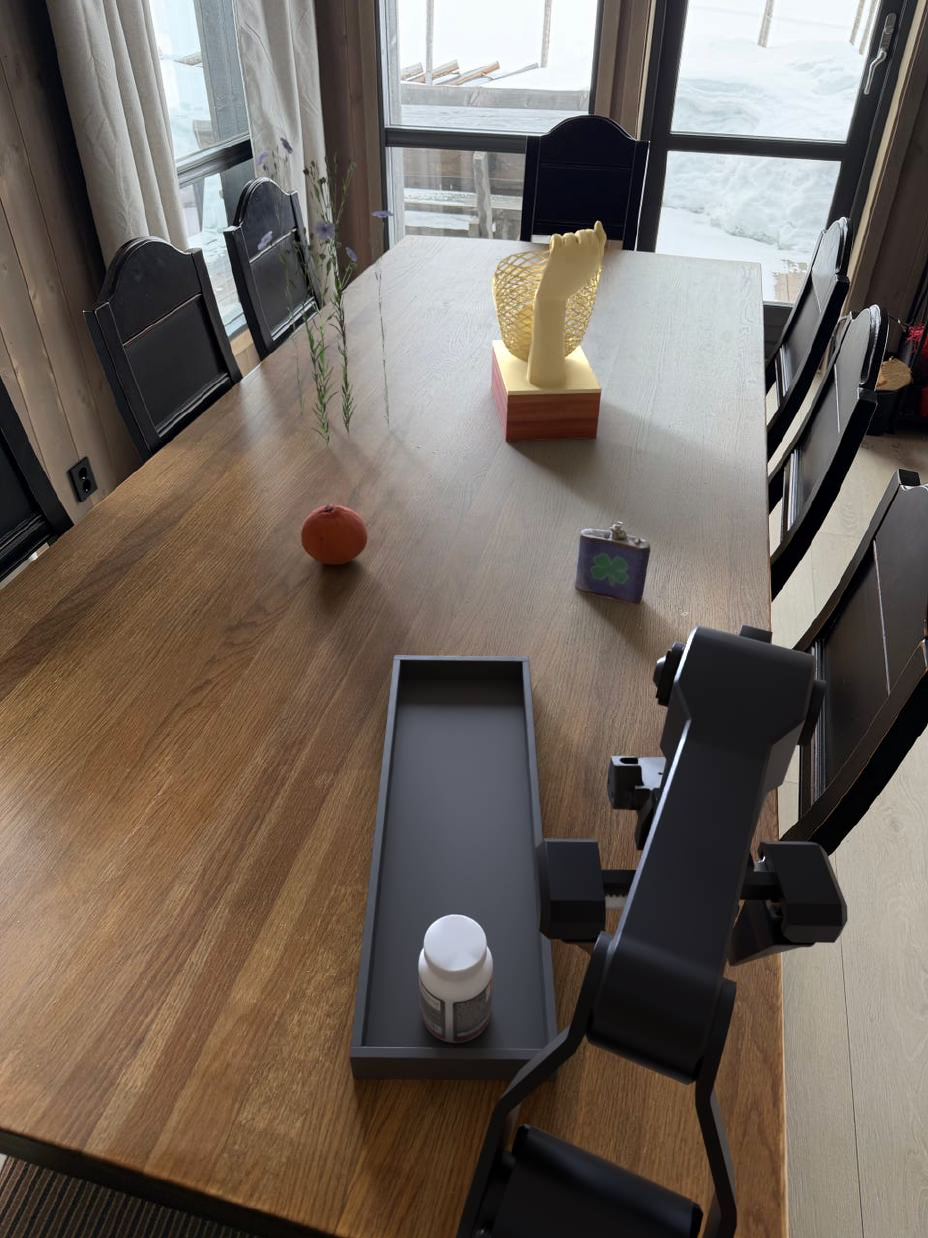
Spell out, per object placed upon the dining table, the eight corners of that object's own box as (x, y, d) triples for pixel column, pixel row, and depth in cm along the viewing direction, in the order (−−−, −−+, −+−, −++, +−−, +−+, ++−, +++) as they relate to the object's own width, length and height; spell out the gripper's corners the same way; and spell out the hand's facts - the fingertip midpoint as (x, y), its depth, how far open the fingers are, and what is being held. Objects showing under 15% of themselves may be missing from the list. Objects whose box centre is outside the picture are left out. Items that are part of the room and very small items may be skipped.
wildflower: (423, 439, 150) (417, 148, 122) (300, 470, 141) (263, 164, 113) (368, 392, 165) (352, 124, 137) (253, 418, 156) (210, 136, 128)
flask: (571, 591, 116) (579, 522, 109) (577, 579, 118) (585, 511, 111) (639, 607, 113) (651, 538, 106) (644, 595, 115) (656, 526, 108)
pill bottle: (493, 980, 72) (497, 912, 66) (488, 1049, 67) (492, 982, 61) (425, 974, 72) (422, 905, 66) (415, 1042, 68) (412, 975, 62)
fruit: (291, 565, 120) (284, 516, 115) (327, 535, 126) (322, 486, 121) (345, 583, 116) (340, 533, 112) (379, 550, 123) (376, 501, 118)
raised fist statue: (600, 442, 150) (625, 227, 128) (497, 445, 148) (505, 228, 127) (574, 384, 169) (592, 189, 147) (483, 386, 168) (487, 190, 146)
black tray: (556, 1081, 66) (560, 1060, 64) (352, 1079, 66) (349, 1057, 64) (527, 679, 102) (529, 656, 100) (395, 677, 102) (393, 655, 100)
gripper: (821, 718, 57) (767, 863, 66) (537, 714, 57) (524, 859, 66) (885, 861, 48) (812, 1003, 58) (548, 856, 48) (532, 1000, 58)
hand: (664, 959), depth 60 cm, fingers open, 9 cm apart
